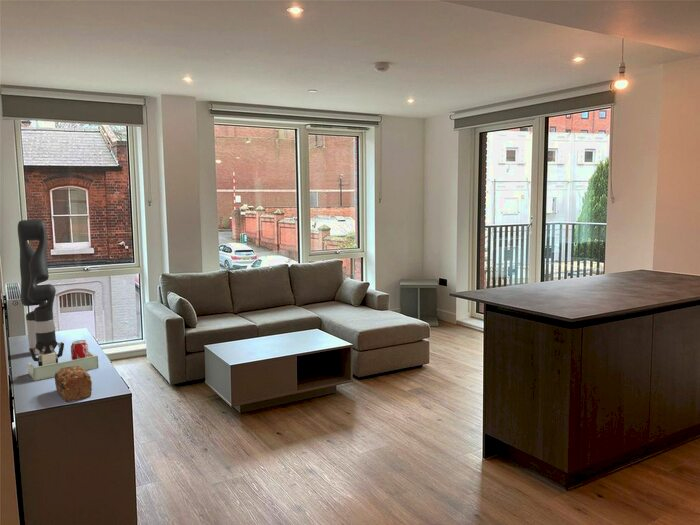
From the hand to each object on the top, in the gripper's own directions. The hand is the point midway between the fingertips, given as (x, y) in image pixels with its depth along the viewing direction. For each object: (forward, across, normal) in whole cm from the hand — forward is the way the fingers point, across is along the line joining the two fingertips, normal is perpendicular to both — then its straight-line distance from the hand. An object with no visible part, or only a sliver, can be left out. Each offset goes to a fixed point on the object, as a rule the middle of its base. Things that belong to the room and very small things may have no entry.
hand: (48, 367), depth 243 cm
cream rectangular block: (+1, 0, 0) cm, 1 cm away
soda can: (+3, -13, 0) cm, 13 cm away
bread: (+3, -2, +35) cm, 35 cm away
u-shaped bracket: (+3, -6, 0) cm, 7 cm away
